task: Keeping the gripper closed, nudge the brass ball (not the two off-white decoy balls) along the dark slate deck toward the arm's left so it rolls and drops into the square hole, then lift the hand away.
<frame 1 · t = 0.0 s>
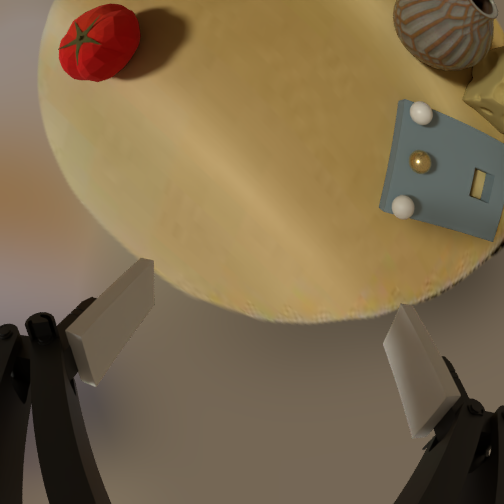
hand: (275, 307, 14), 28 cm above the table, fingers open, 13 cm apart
cheese: (489, 93, 29), on the table
deck: (451, 173, 35), on the table
tomato: (117, 49, 34), on the table
vase: (421, 38, 28), on the table
decoy b: (403, 207, 34), point 4 cm above the table, touching deck
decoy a: (421, 113, 29), point 4 cm above the table, touching deck
ball: (420, 162, 32), point 4 cm above the table, touching deck
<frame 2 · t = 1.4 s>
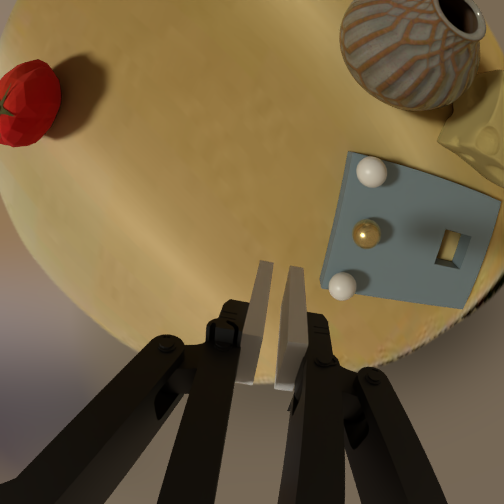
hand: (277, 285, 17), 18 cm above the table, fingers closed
cheese: (475, 129, 26), on the table
deck: (415, 235, 32), on the table
tomato: (47, 103, 31), on the table
vase: (385, 62, 25), on the table
decoy b: (342, 286, 32), point 4 cm above the table, touching deck
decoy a: (371, 172, 27), point 4 cm above the table, touching deck
ball: (366, 234, 29), point 4 cm above the table, touching deck
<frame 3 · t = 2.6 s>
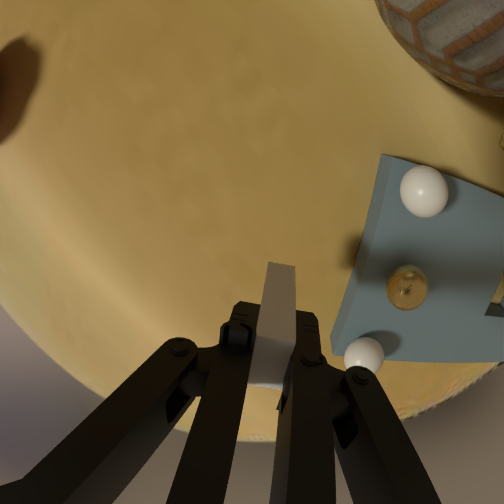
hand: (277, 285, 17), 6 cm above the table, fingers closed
deck: (462, 276, 21), on the table
vase: (430, 26, 14), on the table
decoy b: (364, 357, 20), point 4 cm above the table, touching deck
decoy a: (424, 191, 15), point 4 cm above the table, touching deck
ball: (407, 287, 18), point 4 cm above the table, touching deck
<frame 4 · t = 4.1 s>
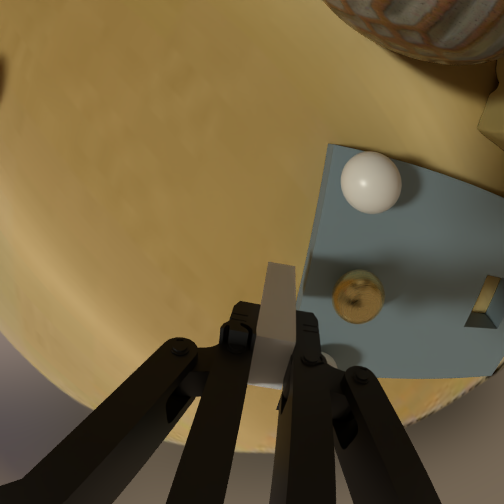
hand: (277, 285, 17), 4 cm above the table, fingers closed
deck: (438, 282, 19), on the table
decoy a: (371, 182, 14), point 4 cm above the table, touching deck
ball: (358, 296, 16), point 4 cm above the table, touching deck
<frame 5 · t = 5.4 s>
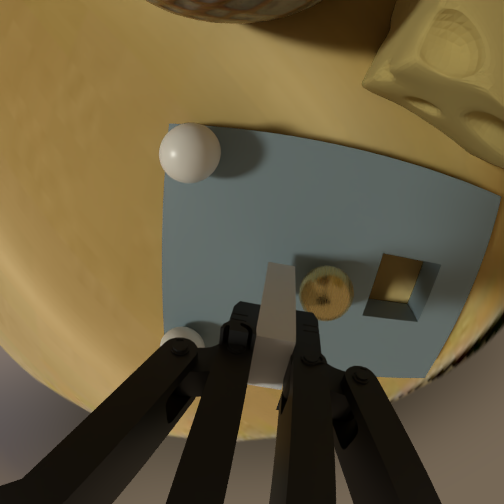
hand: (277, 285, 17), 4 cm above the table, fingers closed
cheese: (443, 66, 14), on the table
deck: (328, 263, 20), on the table
decoy b: (182, 348, 19), point 4 cm above the table, touching deck
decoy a: (189, 152, 14), point 4 cm above the table, touching deck
ball: (326, 293, 16), point 4 cm above the table, tilted 96°, touching deck
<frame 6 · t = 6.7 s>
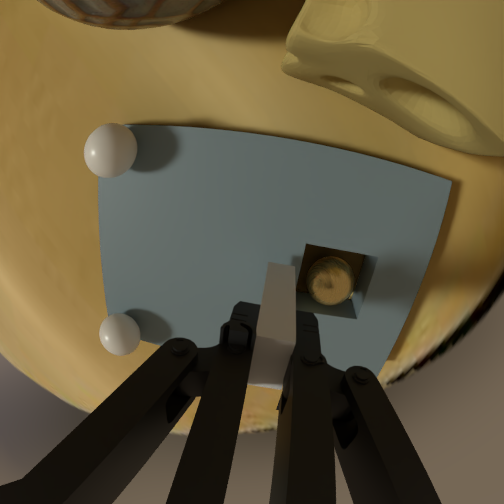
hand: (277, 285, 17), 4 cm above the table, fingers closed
cheese: (383, 45, 14), on the table
deck: (258, 254, 20), on the table
decoy b: (119, 334, 19), point 4 cm above the table, touching deck
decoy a: (110, 150, 14), point 4 cm above the table, touching deck
ball: (330, 280, 19), point 2 cm above the table, tilted 134°
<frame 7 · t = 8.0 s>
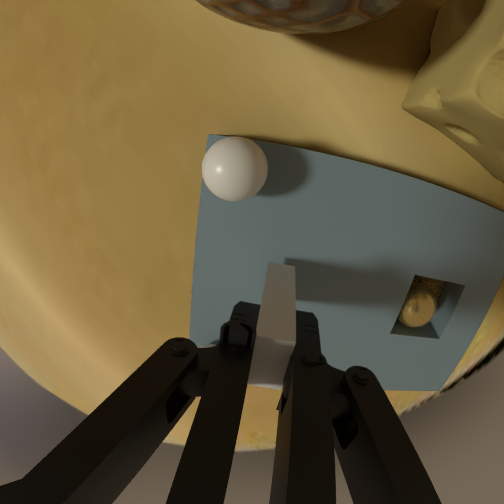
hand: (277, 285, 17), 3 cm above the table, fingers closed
cheese: (475, 90, 13), on the table
deck: (359, 281, 20), on the table
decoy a: (234, 168, 14), point 4 cm above the table, touching deck
ball: (415, 304, 18), point 2 cm above the table, tilted 111°
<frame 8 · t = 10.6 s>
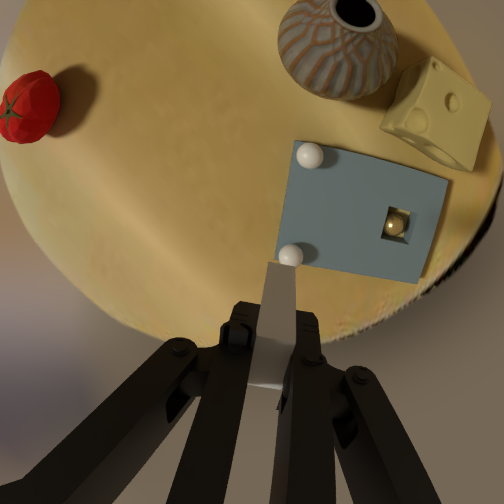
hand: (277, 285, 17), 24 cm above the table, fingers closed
cheese: (420, 115, 32), on the table
deck: (362, 213, 38), on the table
tomato: (48, 107, 37), on the table
vase: (329, 61, 31), on the table
decoy b: (290, 256, 38), point 4 cm above the table, touching deck
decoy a: (310, 155, 33), point 4 cm above the table, touching deck
ball: (392, 224, 37), point 2 cm above the table, tilted 113°
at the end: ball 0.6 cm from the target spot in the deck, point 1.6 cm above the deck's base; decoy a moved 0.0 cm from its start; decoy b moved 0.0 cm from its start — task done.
